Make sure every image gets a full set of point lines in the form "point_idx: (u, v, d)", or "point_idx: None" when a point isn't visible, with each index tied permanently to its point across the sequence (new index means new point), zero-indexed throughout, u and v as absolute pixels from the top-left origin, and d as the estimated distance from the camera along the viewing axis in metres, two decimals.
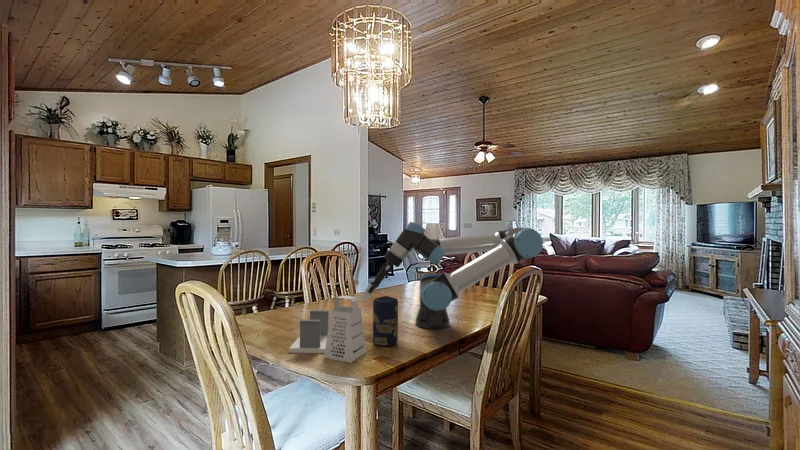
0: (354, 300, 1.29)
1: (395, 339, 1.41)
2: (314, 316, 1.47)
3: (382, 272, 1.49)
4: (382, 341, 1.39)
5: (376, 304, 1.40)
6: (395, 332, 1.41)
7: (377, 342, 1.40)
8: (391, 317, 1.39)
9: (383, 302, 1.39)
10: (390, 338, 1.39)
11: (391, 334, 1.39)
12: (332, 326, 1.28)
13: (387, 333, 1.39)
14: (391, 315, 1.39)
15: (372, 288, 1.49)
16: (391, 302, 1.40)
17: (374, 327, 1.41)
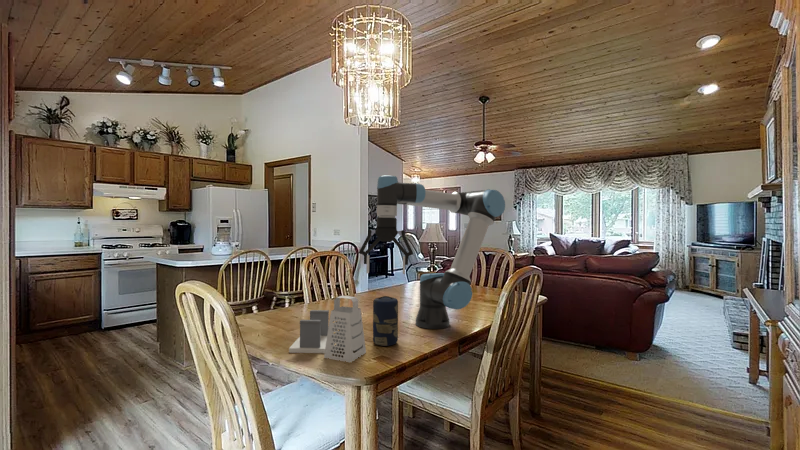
0: (354, 300, 1.29)
1: (395, 339, 1.41)
2: (314, 316, 1.47)
3: (406, 239, 1.43)
4: (382, 341, 1.39)
5: (376, 304, 1.40)
6: (395, 332, 1.41)
7: (377, 342, 1.40)
8: (391, 317, 1.39)
9: (383, 302, 1.39)
10: (390, 338, 1.39)
11: (391, 334, 1.39)
12: (332, 326, 1.28)
13: (387, 333, 1.39)
14: (391, 315, 1.39)
15: None
16: (391, 302, 1.40)
17: (374, 327, 1.41)
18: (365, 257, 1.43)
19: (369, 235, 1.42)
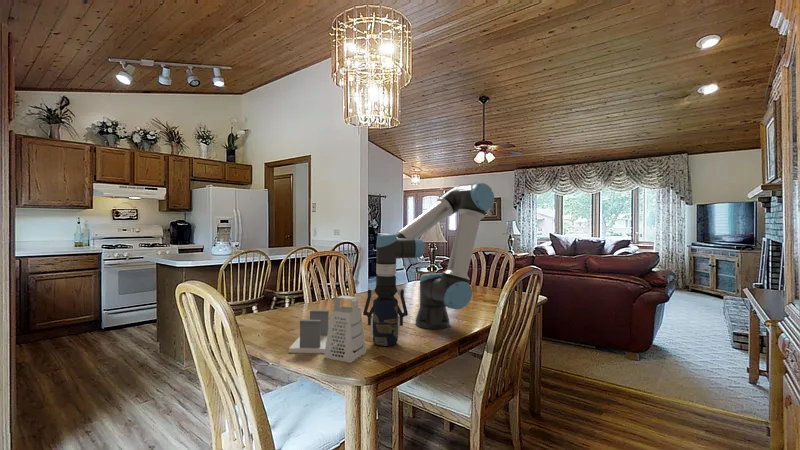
0: (354, 300, 1.29)
1: (395, 339, 1.41)
2: (314, 316, 1.47)
3: (404, 299, 1.43)
4: (382, 341, 1.39)
5: (376, 304, 1.40)
6: (395, 332, 1.41)
7: (377, 342, 1.40)
8: (391, 317, 1.39)
9: (383, 302, 1.39)
10: (390, 338, 1.39)
11: (391, 334, 1.39)
12: (332, 326, 1.28)
13: (387, 333, 1.39)
14: (391, 315, 1.39)
15: (402, 319, 1.43)
16: (391, 302, 1.40)
17: (374, 327, 1.41)
18: (369, 318, 1.43)
19: (369, 295, 1.42)
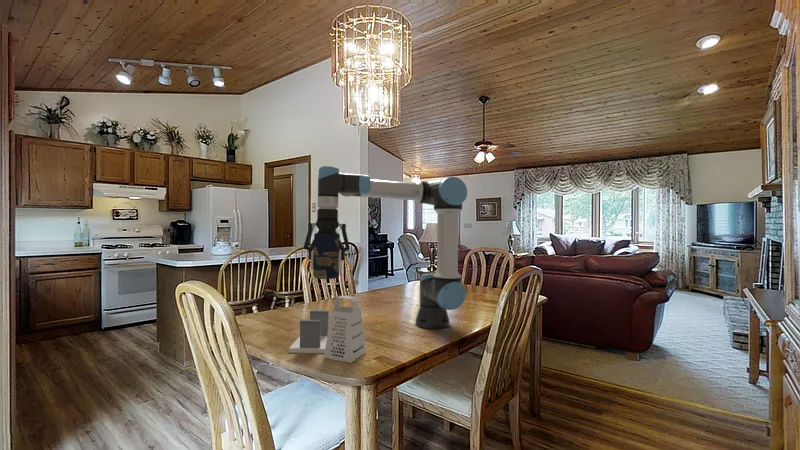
0: (354, 300, 1.29)
1: (335, 273, 1.38)
2: (314, 316, 1.47)
3: (346, 234, 1.40)
4: (321, 274, 1.36)
5: (316, 237, 1.37)
6: (335, 266, 1.38)
7: (316, 275, 1.37)
8: (331, 250, 1.37)
9: (323, 234, 1.36)
10: (329, 271, 1.36)
11: (331, 267, 1.37)
12: (332, 326, 1.28)
13: (327, 266, 1.36)
14: (331, 248, 1.36)
15: (344, 254, 1.41)
16: (331, 234, 1.37)
17: (314, 260, 1.38)
18: (310, 252, 1.40)
19: (310, 228, 1.39)
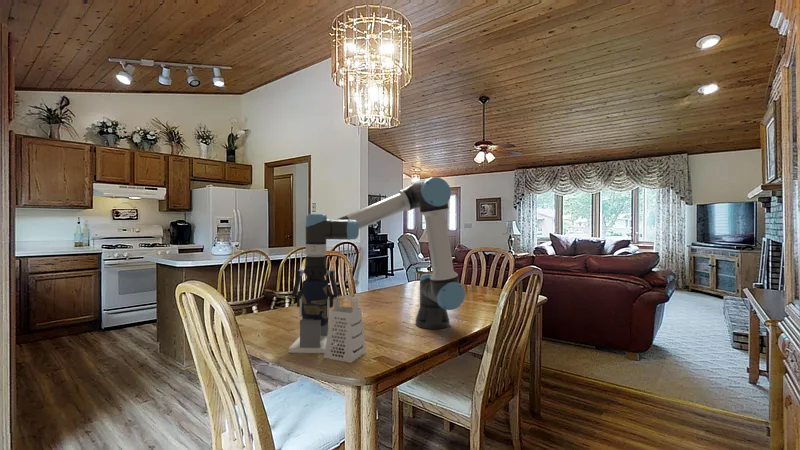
0: (354, 300, 1.29)
1: (324, 321, 1.38)
2: None
3: (334, 280, 1.40)
4: None
5: (304, 285, 1.37)
6: (324, 313, 1.38)
7: None
8: (319, 298, 1.36)
9: (310, 283, 1.36)
10: (317, 319, 1.36)
11: (319, 315, 1.36)
12: (332, 326, 1.28)
13: (315, 314, 1.36)
14: (319, 296, 1.36)
15: None
16: (319, 283, 1.37)
17: (302, 308, 1.38)
18: (298, 300, 1.40)
19: (298, 276, 1.39)
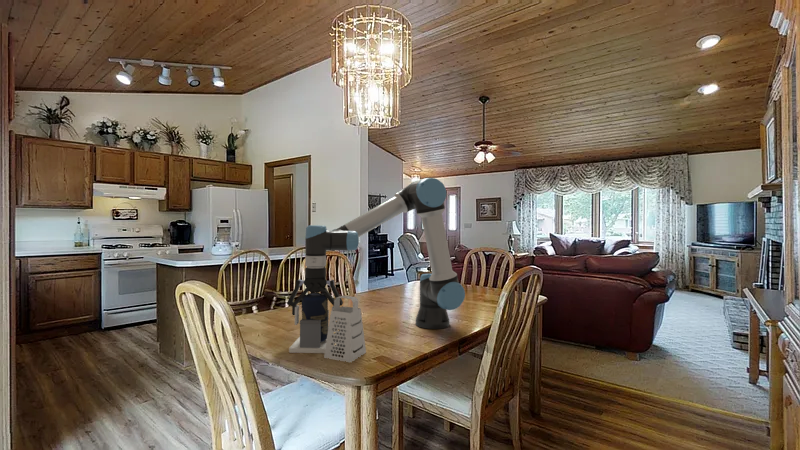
0: (354, 300, 1.29)
1: (324, 336, 1.38)
2: None
3: (335, 289, 1.40)
4: None
5: (303, 301, 1.37)
6: (323, 329, 1.38)
7: None
8: (319, 313, 1.37)
9: (310, 298, 1.36)
10: None
11: None
12: (332, 326, 1.28)
13: None
14: (318, 312, 1.36)
15: None
16: (318, 298, 1.37)
17: None
18: (293, 308, 1.40)
19: (297, 286, 1.39)
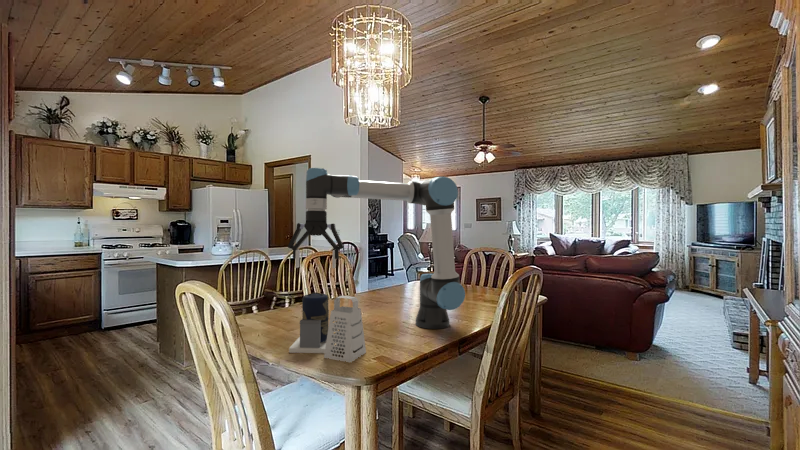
0: (354, 300, 1.29)
1: (324, 336, 1.38)
2: None
3: (336, 233, 1.40)
4: None
5: (304, 301, 1.37)
6: (324, 329, 1.38)
7: None
8: (319, 314, 1.37)
9: (310, 298, 1.36)
10: None
11: None
12: (332, 326, 1.28)
13: None
14: (318, 312, 1.36)
15: (338, 252, 1.40)
16: (319, 298, 1.37)
17: None
18: (294, 251, 1.40)
19: (298, 229, 1.39)
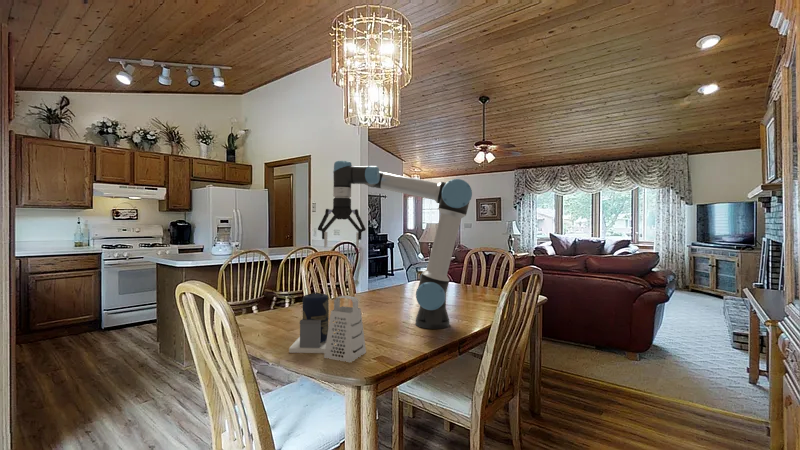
0: (354, 300, 1.29)
1: (324, 336, 1.38)
2: None
3: (359, 217, 1.62)
4: None
5: (304, 301, 1.37)
6: (324, 329, 1.38)
7: None
8: (319, 314, 1.37)
9: (311, 298, 1.36)
10: None
11: None
12: (332, 326, 1.28)
13: None
14: (319, 312, 1.36)
15: None
16: (319, 298, 1.37)
17: None
18: (323, 233, 1.62)
19: (326, 213, 1.61)
